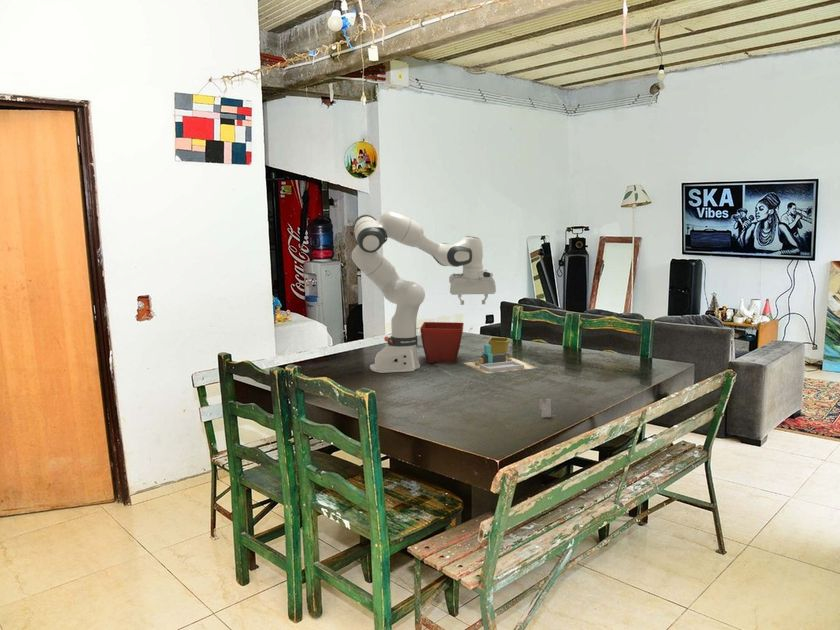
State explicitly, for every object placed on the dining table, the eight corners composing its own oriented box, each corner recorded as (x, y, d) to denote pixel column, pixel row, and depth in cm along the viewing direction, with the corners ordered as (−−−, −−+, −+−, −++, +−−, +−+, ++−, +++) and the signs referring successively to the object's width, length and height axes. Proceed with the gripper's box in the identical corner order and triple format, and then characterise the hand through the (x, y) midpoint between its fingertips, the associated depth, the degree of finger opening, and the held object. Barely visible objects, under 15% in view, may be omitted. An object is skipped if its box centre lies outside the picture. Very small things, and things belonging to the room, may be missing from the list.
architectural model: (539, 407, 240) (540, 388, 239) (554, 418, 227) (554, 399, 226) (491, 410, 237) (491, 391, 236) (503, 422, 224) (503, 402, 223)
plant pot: (463, 356, 323) (463, 322, 320) (462, 365, 304) (462, 328, 301) (424, 356, 325) (423, 321, 322) (420, 365, 306) (419, 328, 303)
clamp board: (485, 376, 284) (485, 370, 283) (462, 365, 304) (462, 359, 304) (538, 370, 293) (538, 364, 293) (512, 360, 314) (512, 354, 313)
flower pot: (509, 356, 323) (509, 337, 322) (506, 360, 315) (507, 341, 313) (490, 355, 325) (491, 337, 324) (488, 359, 317) (488, 340, 315)
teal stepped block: (488, 365, 298) (488, 346, 296) (482, 362, 303) (482, 343, 302) (492, 364, 298) (492, 345, 297) (486, 362, 304) (486, 343, 302)
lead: (481, 365, 298) (481, 356, 297) (478, 364, 301) (478, 355, 300) (508, 362, 303) (508, 354, 302) (504, 361, 306) (504, 353, 305)
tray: (489, 372, 285) (489, 368, 285) (479, 368, 294) (479, 364, 293) (524, 368, 292) (524, 365, 292) (513, 364, 300) (513, 360, 300)
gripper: (449, 274, 294) (449, 305, 296) (496, 273, 294) (496, 304, 296) (448, 273, 300) (449, 303, 302) (494, 272, 300) (494, 303, 302)
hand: (472, 304), depth 299 cm, fingers open, 8 cm apart
